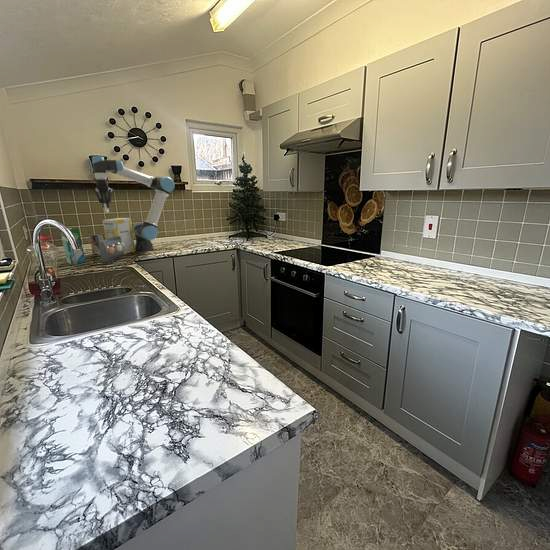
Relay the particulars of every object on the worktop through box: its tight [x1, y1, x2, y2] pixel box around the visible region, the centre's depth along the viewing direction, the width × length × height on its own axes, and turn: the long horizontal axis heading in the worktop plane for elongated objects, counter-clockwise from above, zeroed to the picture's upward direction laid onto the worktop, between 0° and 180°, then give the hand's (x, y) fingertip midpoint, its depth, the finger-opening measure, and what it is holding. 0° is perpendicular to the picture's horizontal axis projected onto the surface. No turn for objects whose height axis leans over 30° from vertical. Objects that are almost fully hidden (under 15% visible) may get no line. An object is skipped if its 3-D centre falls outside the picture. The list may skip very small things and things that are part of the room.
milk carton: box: [60, 227, 86, 266], centre depth 213 cm, size 9×9×25 cm
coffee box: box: [88, 234, 106, 256], centre depth 241 cm, size 9×6×16 cm
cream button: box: [115, 245, 123, 251], centre depth 220 cm, size 3×4×4 cm
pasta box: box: [102, 217, 137, 255], centre depth 242 cm, size 18×10×28 cm, turn 164°
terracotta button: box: [107, 247, 115, 254], centre depth 212 cm, size 3×4×4 cm
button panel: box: [95, 236, 125, 265], centre depth 220 cm, size 8×24×16 cm, turn 1°
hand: (107, 212), depth 221 cm, fingers closed
